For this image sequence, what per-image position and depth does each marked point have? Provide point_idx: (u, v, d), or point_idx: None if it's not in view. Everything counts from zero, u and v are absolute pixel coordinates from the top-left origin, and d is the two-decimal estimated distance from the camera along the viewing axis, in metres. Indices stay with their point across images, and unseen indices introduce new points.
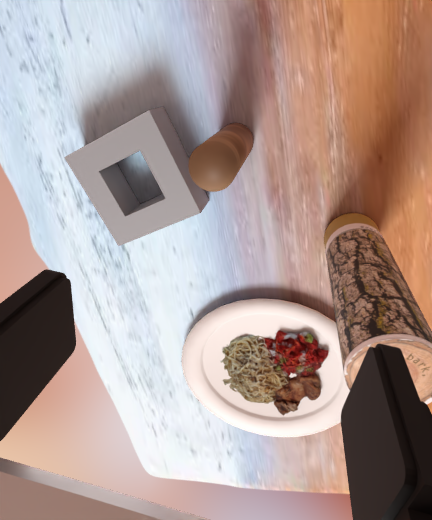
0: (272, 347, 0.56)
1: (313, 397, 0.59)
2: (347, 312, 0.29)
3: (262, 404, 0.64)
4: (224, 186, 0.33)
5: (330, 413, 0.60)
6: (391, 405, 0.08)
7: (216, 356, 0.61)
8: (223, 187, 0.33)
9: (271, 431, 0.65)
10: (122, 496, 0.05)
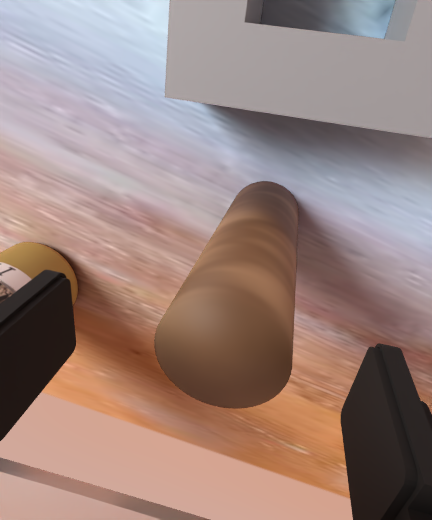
0: None
1: None
2: None
3: None
4: (159, 349, 0.12)
5: None
6: (391, 405, 0.08)
7: None
8: (158, 346, 0.12)
9: None
10: (122, 496, 0.05)
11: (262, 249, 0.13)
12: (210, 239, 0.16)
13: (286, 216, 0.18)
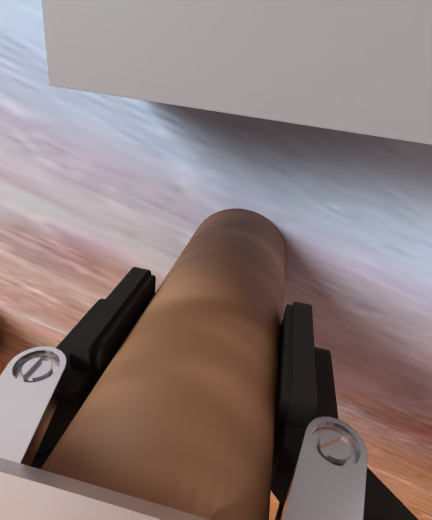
0: None
1: None
2: None
3: None
4: None
5: None
6: (288, 346, 0.09)
7: None
8: None
9: None
10: (122, 496, 0.05)
11: (202, 397, 0.07)
12: (130, 332, 0.10)
13: (264, 278, 0.11)
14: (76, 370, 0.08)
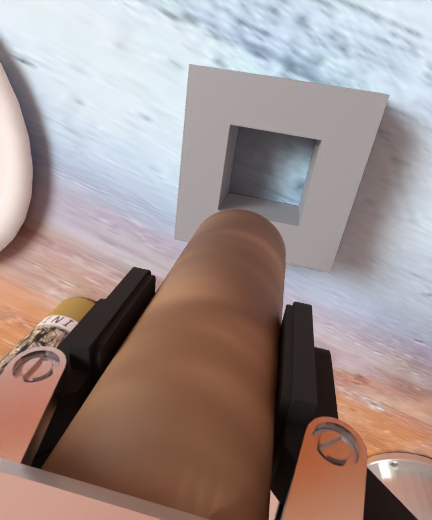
0: None
1: None
2: None
3: None
4: None
5: None
6: (288, 346, 0.09)
7: None
8: None
9: None
10: (122, 496, 0.05)
11: (202, 397, 0.07)
12: None
13: (264, 278, 0.11)
14: (76, 370, 0.08)
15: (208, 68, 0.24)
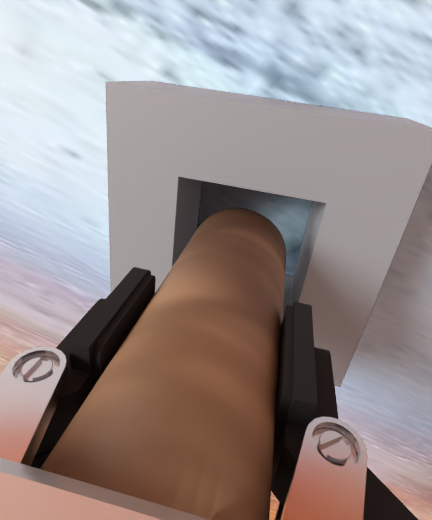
0: None
1: None
2: None
3: None
4: None
5: None
6: (288, 346, 0.09)
7: None
8: None
9: None
10: (122, 496, 0.05)
11: (202, 397, 0.07)
12: (129, 332, 0.10)
13: (264, 278, 0.11)
14: (76, 370, 0.08)
15: (136, 88, 0.14)
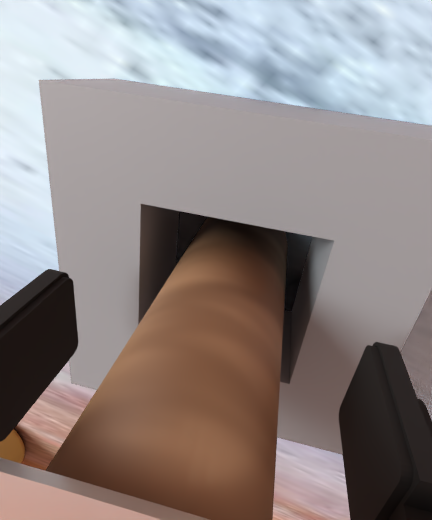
0: None
1: None
2: None
3: None
4: None
5: None
6: (388, 403, 0.08)
7: None
8: None
9: None
10: (122, 496, 0.05)
11: (216, 363, 0.07)
12: (146, 313, 0.10)
13: (268, 266, 0.12)
14: None
15: (80, 89, 0.11)
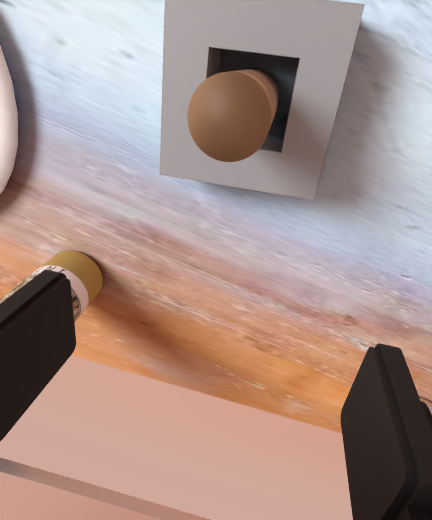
0: None
1: None
2: None
3: None
4: (190, 120, 0.19)
5: None
6: (391, 405, 0.08)
7: None
8: (190, 118, 0.19)
9: None
10: (122, 496, 0.05)
11: (252, 73, 0.21)
12: None
13: (269, 78, 0.25)
14: None
15: None
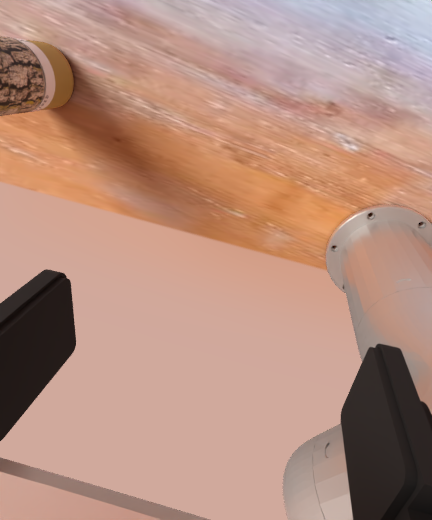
0: None
1: None
2: None
3: None
4: None
5: None
6: (391, 405, 0.08)
7: None
8: None
9: None
10: (122, 496, 0.05)
11: None
12: None
13: None
14: None
15: None
